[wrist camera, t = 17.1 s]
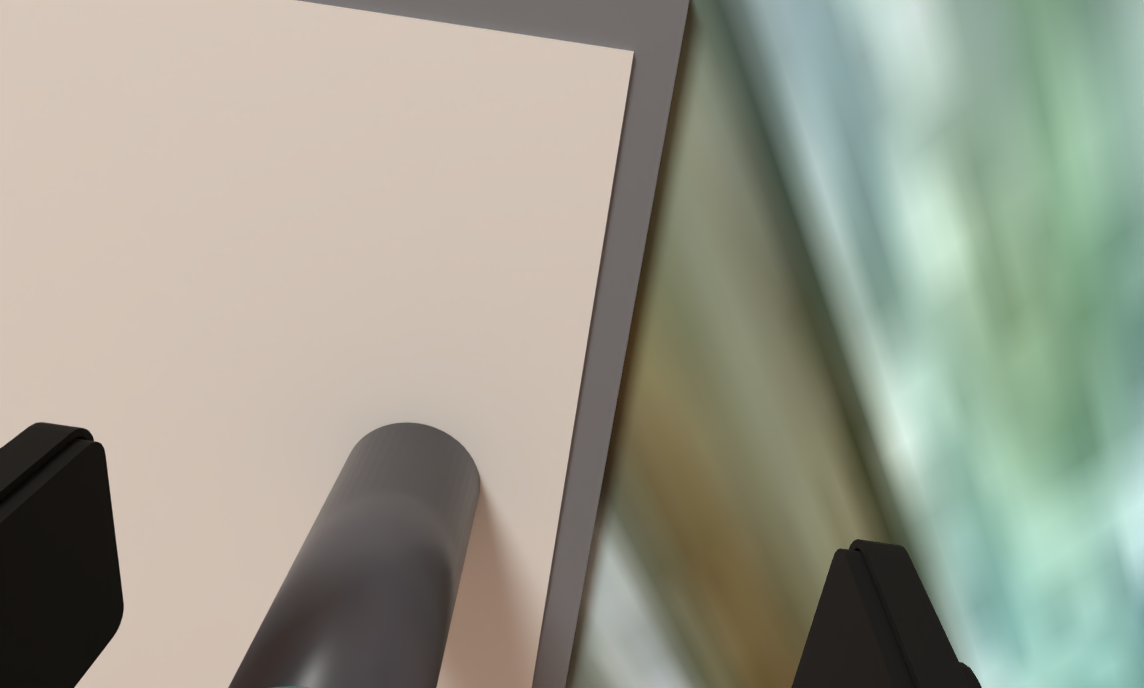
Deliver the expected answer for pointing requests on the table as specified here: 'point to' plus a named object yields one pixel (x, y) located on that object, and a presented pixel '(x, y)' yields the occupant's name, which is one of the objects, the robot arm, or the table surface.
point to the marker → (374, 570)
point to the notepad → (327, 286)
